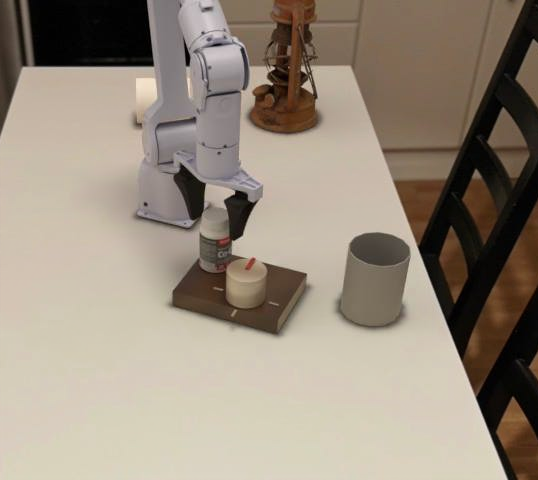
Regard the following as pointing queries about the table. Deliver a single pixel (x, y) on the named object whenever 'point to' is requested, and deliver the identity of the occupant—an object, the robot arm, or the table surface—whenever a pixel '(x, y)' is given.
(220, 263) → the pill bottle
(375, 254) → the cup
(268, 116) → the lantern
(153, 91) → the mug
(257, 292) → the rotary knob
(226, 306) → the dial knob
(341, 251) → the table surface
